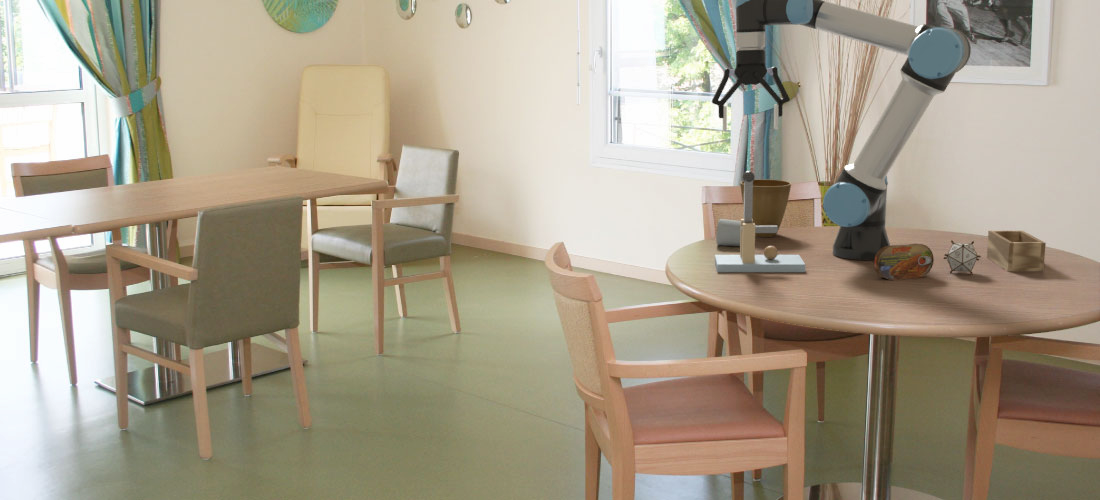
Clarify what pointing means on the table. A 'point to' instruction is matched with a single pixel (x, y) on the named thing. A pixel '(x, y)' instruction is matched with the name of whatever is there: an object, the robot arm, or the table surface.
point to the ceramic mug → (728, 232)
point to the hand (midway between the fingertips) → (750, 130)
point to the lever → (748, 202)
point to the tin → (903, 261)
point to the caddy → (1016, 250)
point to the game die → (962, 257)
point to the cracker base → (757, 257)
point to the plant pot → (768, 202)
